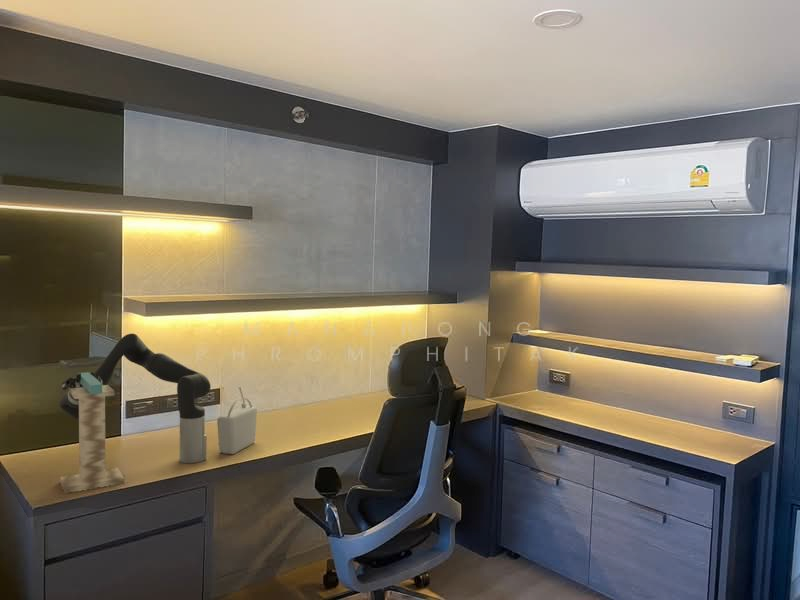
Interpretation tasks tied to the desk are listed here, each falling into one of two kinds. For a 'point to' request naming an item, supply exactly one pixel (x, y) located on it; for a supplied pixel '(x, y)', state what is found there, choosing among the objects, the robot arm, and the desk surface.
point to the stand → (91, 444)
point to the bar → (90, 383)
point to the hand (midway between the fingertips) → (86, 375)
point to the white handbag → (237, 428)
